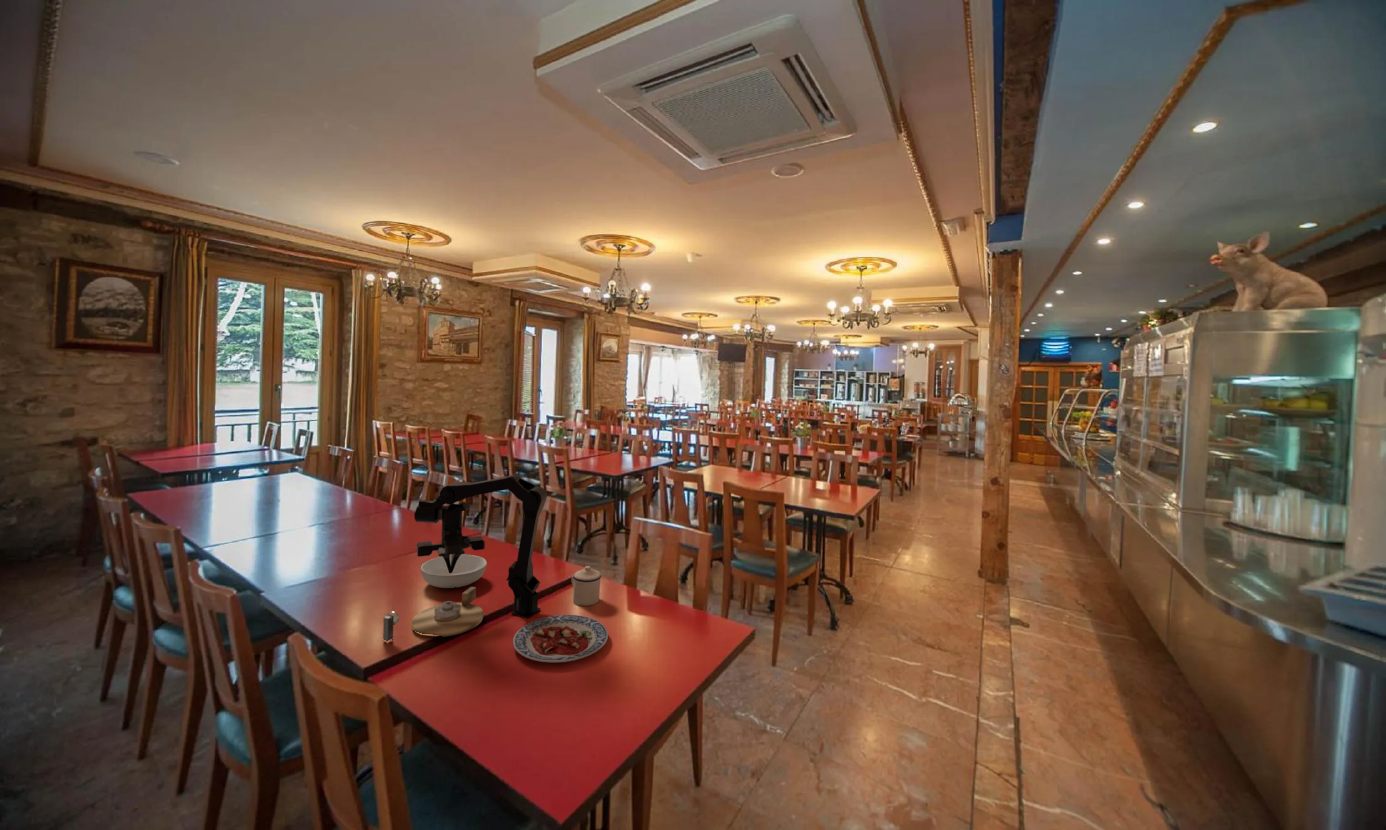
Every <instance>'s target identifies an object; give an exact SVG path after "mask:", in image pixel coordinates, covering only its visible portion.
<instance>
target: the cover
mask: <svg viewBox="0 0 1386 830" xmlns="http://www.w3.org/2000/svg"><path fill="white" fill-rule="evenodd" d="M456 603H457V602H454V601H451V600H447V601H443V602H442V603H441V604H439V605H440V606H438V605H437V606H438V607H436V608H435V611H434V619H435V620H436V621H438V622H450V621H453V620H456V619H458V618H459V617H460V615H461V606H460V605H459V604H456Z"/></svg>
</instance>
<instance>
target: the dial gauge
mask: <svg viewBox="0 0 1386 830" xmlns="http://www.w3.org/2000/svg"><path fill="white" fill-rule="evenodd" d="M398 623H400V615H399V613H398V611H395V610H392V611H390V612H388V613H387V614H386V616H384V617H383V632H382V633H383V634H382V635H383V637H382V640H383V639H384V640H386V641H388V640H390V639H392V638H393V639H394V626H396V625H397V624H398Z"/></svg>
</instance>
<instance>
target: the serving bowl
mask: <svg viewBox="0 0 1386 830" xmlns="http://www.w3.org/2000/svg"><path fill="white" fill-rule="evenodd" d="M451 557H452V554H451V555H450V565H451ZM487 563H488V562H487V560H486V559H485V558H484V557H482V556H478V555H473V554H465V553H464V554H461V555H460V556H459V558H458V560H457V562H456V564H455V567H454V569H453V572H452V573H449V571H448V568H447V565H446V562H445V560H444V558H443V557H440V556H437V557H434V558H432V559H429V560H427V561H425V562H423V563H422V565H421V567H420V573H421V576H422V578H423V580H424V581H425V582H426V583H427V584H429V585H431V586H433V587H436V588H441V589H453V588H455V587H456V588H461V587H465V586H468V585H471V584H473V583H475V582H476V581H478V580H479V579H480V578H482V576H483V575H484V573H485V572H486V568H487V565H488V564H487ZM456 588H455V589H456Z"/></svg>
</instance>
